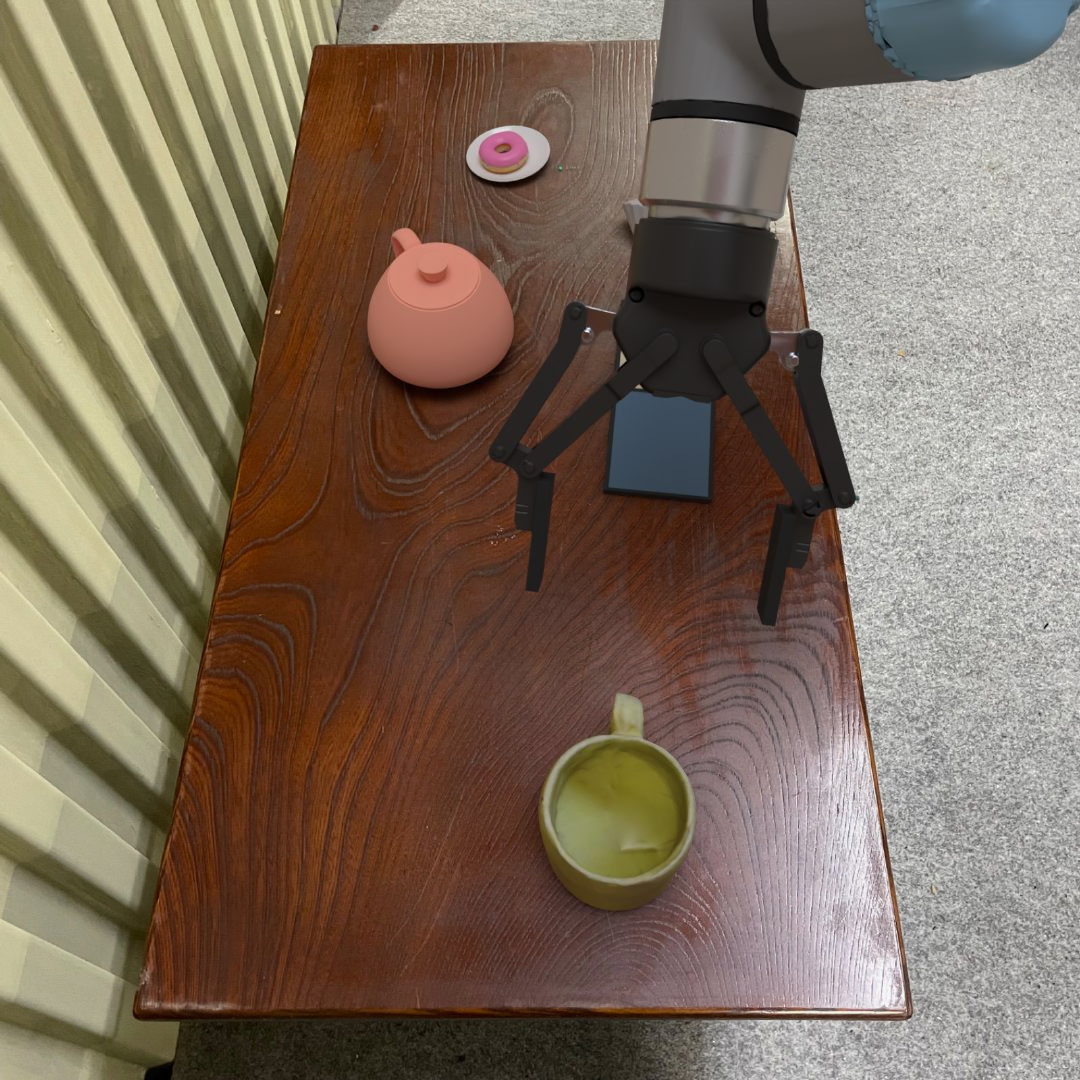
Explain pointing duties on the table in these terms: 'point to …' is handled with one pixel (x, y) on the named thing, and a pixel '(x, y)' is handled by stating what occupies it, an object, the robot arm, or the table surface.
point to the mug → (617, 814)
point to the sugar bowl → (438, 315)
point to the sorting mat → (660, 447)
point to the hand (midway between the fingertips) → (648, 601)
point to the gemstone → (634, 212)
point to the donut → (508, 153)
